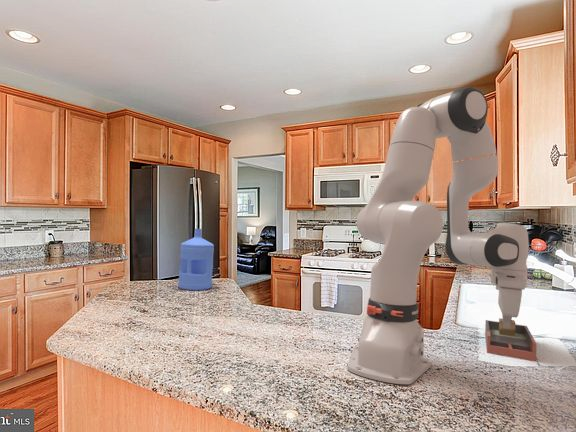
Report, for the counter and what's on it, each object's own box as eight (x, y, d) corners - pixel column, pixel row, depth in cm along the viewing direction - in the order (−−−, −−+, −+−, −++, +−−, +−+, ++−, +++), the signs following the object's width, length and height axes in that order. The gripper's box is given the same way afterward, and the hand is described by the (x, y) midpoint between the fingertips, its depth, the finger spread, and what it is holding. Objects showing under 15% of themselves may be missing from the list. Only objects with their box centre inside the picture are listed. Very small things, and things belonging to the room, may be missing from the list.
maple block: (515, 336, 106) (515, 323, 107) (499, 334, 108) (499, 320, 108) (513, 333, 110) (514, 320, 110) (498, 331, 112) (499, 318, 112)
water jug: (189, 283, 182) (192, 228, 182) (217, 286, 177) (220, 229, 178) (171, 288, 167) (174, 228, 167) (201, 291, 162) (205, 229, 163)
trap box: (536, 361, 92) (536, 343, 92) (486, 352, 97) (487, 335, 97) (526, 340, 110) (526, 325, 110) (485, 334, 115) (485, 320, 115)
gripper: (494, 274, 115) (492, 318, 115) (498, 280, 97) (495, 332, 96) (517, 277, 112) (515, 322, 112) (526, 284, 94) (523, 337, 94)
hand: (506, 327), depth 104 cm, fingers closed
